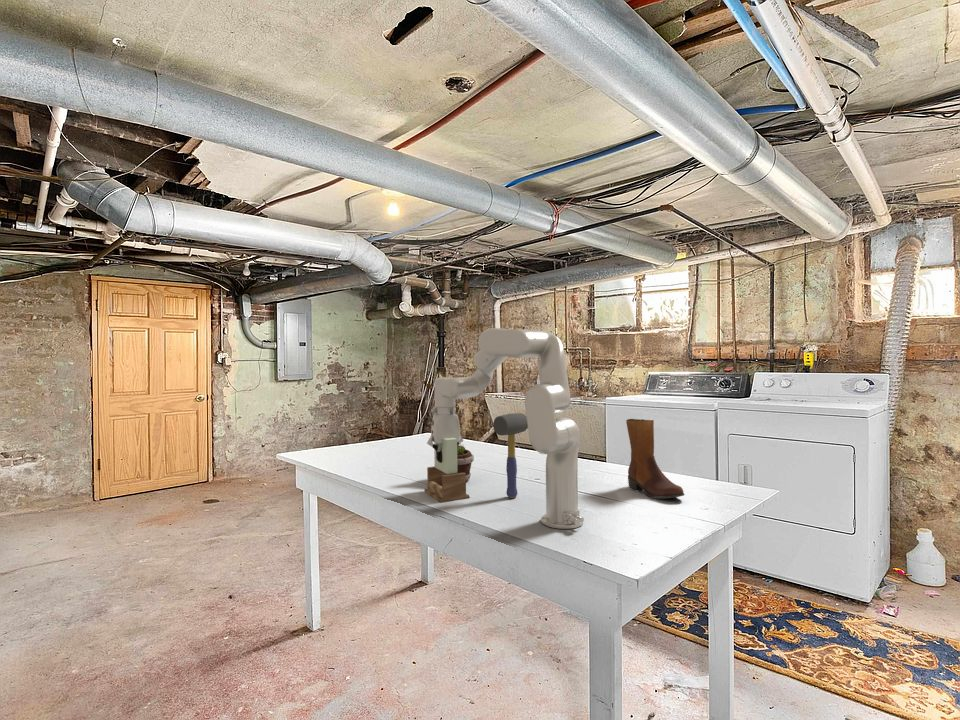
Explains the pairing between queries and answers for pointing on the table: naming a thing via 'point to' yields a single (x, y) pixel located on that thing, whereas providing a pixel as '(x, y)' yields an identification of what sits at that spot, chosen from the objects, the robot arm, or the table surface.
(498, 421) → the rubber mallet
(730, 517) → the table surface
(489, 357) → the robot arm
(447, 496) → the wooden holder
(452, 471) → the door panel
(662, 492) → the boot
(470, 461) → the flowerpot
